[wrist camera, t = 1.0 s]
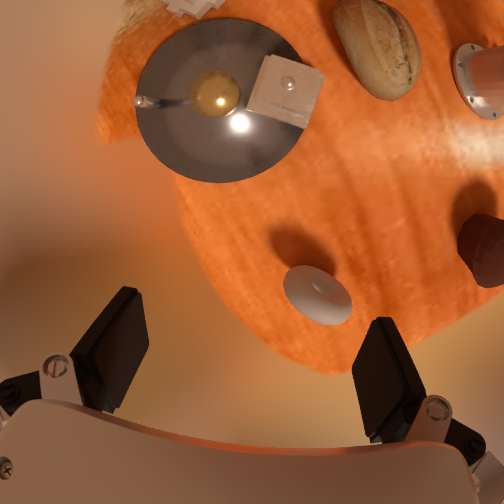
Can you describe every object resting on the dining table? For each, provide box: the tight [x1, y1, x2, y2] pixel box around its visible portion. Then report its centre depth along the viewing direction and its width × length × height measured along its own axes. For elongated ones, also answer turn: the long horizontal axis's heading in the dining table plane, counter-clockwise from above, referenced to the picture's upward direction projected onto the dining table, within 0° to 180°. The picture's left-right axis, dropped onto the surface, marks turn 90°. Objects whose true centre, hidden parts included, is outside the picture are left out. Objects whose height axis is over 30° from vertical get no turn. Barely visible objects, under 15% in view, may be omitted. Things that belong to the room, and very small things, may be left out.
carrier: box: [133, 19, 325, 183], centre depth 26 cm, size 22×22×9 cm
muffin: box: [458, 214, 504, 288], centre depth 30 cm, size 12×11×10 cm
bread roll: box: [332, 0, 422, 101], centre depth 22 cm, size 10×15×8 cm, turn 24°
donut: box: [283, 265, 352, 325], centre depth 35 cm, size 10×4×10 cm, turn 65°
